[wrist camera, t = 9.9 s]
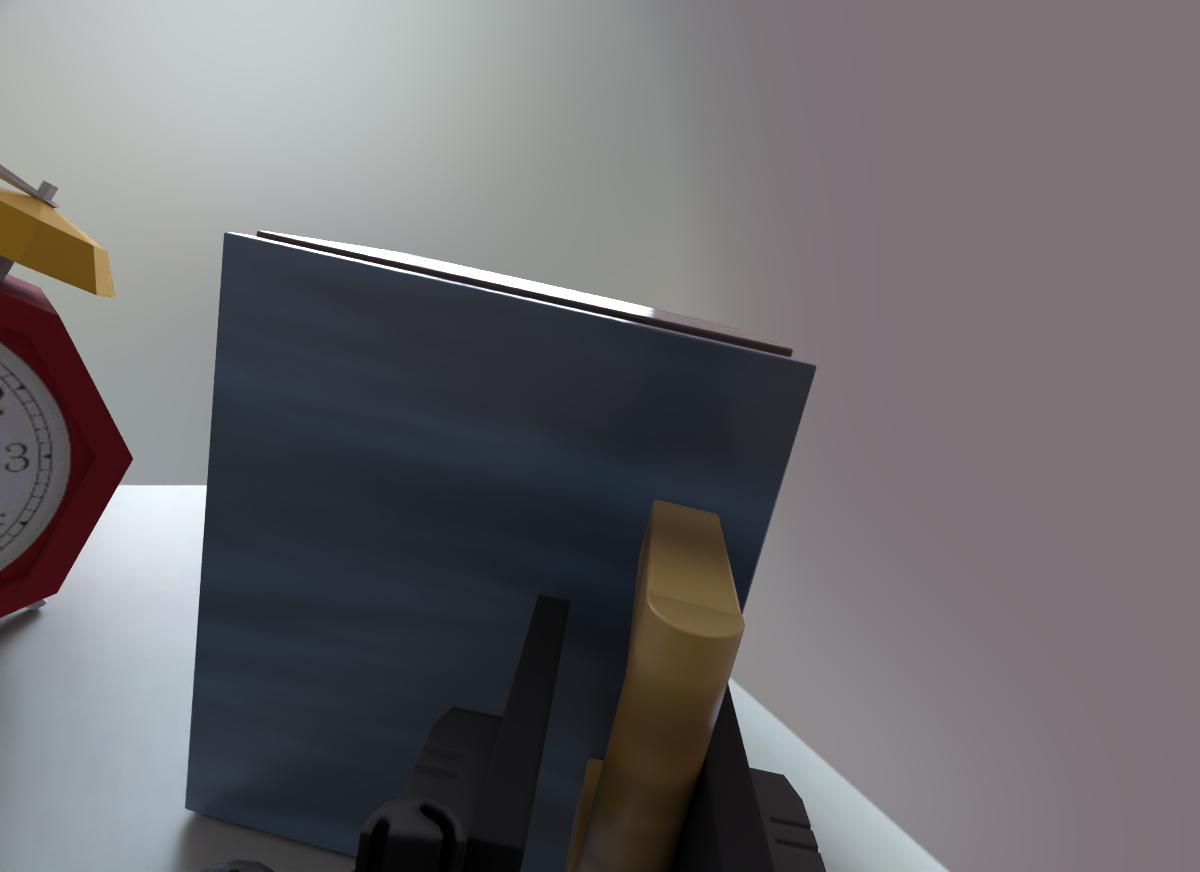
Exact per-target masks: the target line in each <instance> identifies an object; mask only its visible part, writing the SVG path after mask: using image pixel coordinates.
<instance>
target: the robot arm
mask: <svg viewBox="0 0 1200 872" xmlns="http://www.w3.org/2000/svg"><path fill="white" fill-rule="evenodd" d="M569 607H570V601H567V600H563V599H558V598H553V597H549V596H544V595H540V594H539V595H538V598H537V602H536V605H535V608H534V612H533V615H532V619H531V622H530V626H529V629H528V633H527V636H526V639H525V643H524V646H523V650H522V653H521V657H520V660H519V663H518V667H517V670H516V674H515V677H514V681H513V684H512V687H511V691H510V694H509V698H508V701H507V705H506V708H505V711H504V715H503V717H500V716H496V715H491V714H486V713H482V712H477V711H472V710H468V709H463V708H458V707H454V706H453V707H452V708H451V709H450V710H449V711H448V712H446V713H445V714H444V715H443V716H442V717H441V718H439V719H438V720H437V721H436V722H435V723H434V724H433V726H432V729H431V731H430V733H429V735H428V738H427V740H426V742H425V744H424V748H423V750H422V751H421V753H420V756H419V758H418V760H417V762H416V765H415V769H413V771H412V774H411V776H410V778H409V780H408V783H407V785H406V787H405V789H404V792H403V794H402V796H401V797H399V798H397V799H394V800H392V801H389V802H386V803H385V804H383V805H382V806H381V807H380V808H378V809H377V810H376V811H375V812H374V813H372V814H371V815H370V816H369V818H368V820H367V822H366V823H365V825H364V827H363V829H362V830H361V832H360V839H359V846H358V852H357V859H356V866H355V870H353V871H352V872H520V870H521V865H522V861H523V856H524V852H525V847H526V841H527V836H528V831H529V825H530V820H531V814H532V809H533V803H534V798H535V792H536V787H537V781H538V776H539V770H540V765H541V760H542V754H543V749H544V743H545V738H546V732H547V727H548V721H549V716H550V710H551V705H552V699H553V694H554V689H555V683H556V678H557V672H558V667H559V661H560V656H561V650H562V645H563V639H564V634H565V629H566V623H567V618H568V612H569ZM810 827H811V825H810V822H809V819H808V816H807V813H806V810H805V807H804V804H803V801H802V799H801V798H800V796H799V795H798V794H797V792H796V791H795V790H794V788H793V787H792V786H791V784H790V783H789V782H788V780H787V779H786V778H785V776H784V775H781V774H776V773H772V772H767V771H762V770H758V769H753V768H749V765H748V761H747V757H746V753H745V749H744V745H743V741H742V737H741V733H740V729H739V725H738V721H737V717H736V713H735V709H734V705H733V701H732V697H731V693H730V689H729V685H728V684H727V687H726V690H725V694H724V697H723V700H722V704H721V707H720V710H719V714H718V717H717V720H716V723H715V727H714V730H713V733H712V737H711V740H710V743H709V746H708V750H707V753H706V756H705V760H704V763H703V766H702V769H701V773H700V776H699V779H698V783H697V786H696V789H695V793H694V796H693V799H692V802H691V806H690V809H689V812H688V816H687V819H686V822H685V825H684V829H683V832H682V835H681V839H680V842H679V845H678V849H677V852H676V855H675V858H674V862H673V865H672V868H671V872H826V869H825V866H824V863H823V860H822V857H821V854H820V853H818V845H817V842H816V840H815V837H814V834H813V831H811V829H810ZM201 872H274V871H273V870H271V869H269V868H268V867H266V866H264V865H263V864H261V863H259V862H253V861H244V860H235V861H230V862H225V863H220V864H215V865H213V866H211V867H209V868H207V869H205V870H203V871H201Z"/></svg>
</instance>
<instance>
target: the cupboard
mask: <svg viewBox="0 0 1200 872" xmlns="http://www.w3.org/2000/svg"><path fill="white" fill-rule="evenodd" d="M257 237H260V238H265V239H269V240H273V241H278V242H282V243H287V244H291V245H296V246H300V247H304V248H309V249H313V250H318V251H322V252H327V253H331V254H335V255H340V256H344V257H349V258H353V259H357V260H362V261H366V262H371V263H375V264H380V265H384V266H388V267H393V268H397V269H402V270H406V271H411V272H415V273H419V274H424V275H428V276H433V277H437V278H442V279H446V280H450V281H455V282H459V283H464V284H468V285H473V286H477V287H481V288H486V289H490V290H495V291H499V292H504V293H508V294H512V295H517V296H521V297H526V298H530V299H535V300H539V301H543V302H548V303H552V304H557V305H561V306H566V307H570V308H574V309H579V310H583V311H588V312H592V313H596V314H601V315H605V316H610V317H614V318H619V319H623V320H627V321H632V322H636V323H641V324H645V325H650V326H654V327H658V328H663V329H667V330H672V331H676V332H681V333H685V334H689V335H694V336H698V337H703V338H707V339H712V340H716V341H720V342H725V343H729V344H734V345H738V346H743V347H747V348H751V349H756V350H760V351H765V352H769V353H774V354H778V355H782V356H787V357H791V356H792V352H793V351H792V349H791V348H788V347H785V346H782V345H780V344H777V343H774V342H771V341H769V340H766V339H763V338H760V337H757V336H755V335H752V334H749V333H746V332H743V331H741V330H738V329H735V328H732V327H729V326H727V325H724V324H720V323H716V322H711V321H707V320H702V319H698V318H693V317H689V316H684V315H680V314H675V313H671V312H666V311H662V310H657V309H653V308H648V307H644V306H639V305H635V304H630V303H626V302H622V301H617V300H613V299H607V298H603V297H599V296H595V295H590V294H586V293H581V292H577V291H572V290H568V289H563V288H558V287H554V286H550V285H545V284H540V283H536V282H532V281H527V280H523V279H518V278H513V277H509V276H504V275H500V274H496V273H491V272H487V271H482V270H477V269H473V268H469V267H464V266H460V265H455V264H451V263H446V262H442V261H437V260H433V259H428V258H424V257H419V256H414V255H410V254H406V253H400V252H394V251H387V250H381V249H375V248H368V247H361V246H355V245H349V244H342V243H335V242H330V241H323V240H317V239H311V238H304V237H298V236H291V235H285V234H279V233H272V232H266V231H258V232H257Z"/></svg>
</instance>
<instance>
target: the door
mask: <svg viewBox="0 0 1200 872" xmlns="http://www.w3.org/2000/svg"><path fill="white" fill-rule="evenodd" d="M815 371H816V365H814V364H812V363H810V362H807V361H804V360H800V359H796V358H791V357H787V356H782V355H778V354H774V353H769V352H765V351H760V350H756V349H751V348H747V347H743V346H738V345H734V344H729V343H725V342H720V341H716V340H712V339H707V338H703V337H698V336H694V335H689V334H685V333H681V332H676V331H672V330H667V329H663V328H658V327H654V326H650V325H645V324H641V323H636V322H632V321H627V320H623V319H619V318H614V317H610V316H605V315H601V314H596V313H592V312H588V311H583V310H579V309H574V308H570V307H566V306H561V305H557V304H552V303H548V302H543V301H539V300H535V299H530V298H526V297H521V296H517V295H512V294H508V293H504V292H499V291H495V290H490V289H486V288H481V287H477V286H473V285H468V284H464V283H459V282H455V281H450V280H446V279H442V278H437V277H433V276H428V275H424V274H419V273H415V272H411V271H406V270H402V269H397V268H393V267H388V266H384V265H380V264H375V263H371V262H366V261H362V260H357V259H353V258H349V257H344V256H340V255H335V254H331V253H327V252H322V251H318V250H313V249H309V248H304V247H300V246H296V245H291V244H287V243H282V242H278V241H273V240H269V239H265V238H260V237H256V236H251V235H244V234H237V233H231V232H225V233H224V244H223V258H222V273H221V288H220V302H219V317H218V332H217V346H216V361H215V376H214V391H213V405H212V420H211V435H210V449H209V450H210V451H209V465H208V479H207V494H206V508H205V523H204V538H203V553H202V567H201V582H200V597H199V611H198V626H197V641H196V656H195V670H194V685H193V700H192V714H191V729H190V744H189V759H188V773H187V788H186V803H185V808H186V809H188V810H191V811H195V812H198V813H202V814H205V815H209V816H213V817H216V818H220V819H223V820H227V821H230V822H234V823H237V824H241V825H244V826H248V827H252V828H255V829H259V830H262V831H266V832H269V833H273V834H276V835H280V836H283V837H287V838H290V839H294V840H298V841H301V842H305V843H308V844H312V845H315V846H319V847H322V848H326V849H329V850H333V851H337V852H340V853H344V854H347V855H351V856H354V857H357V852H358V846H359V839H360V832H361V830H362V829H363V827H364V825H365V823H366V822H367V820H368V818H369V816H370V815H371V814H372V813H374V812H375V811H376V810H377V809H378V808H380V807H381V806H382V805H383V804H385V803H386V802H389V801H392V800H394V799H397V798H399V797H401V796H402V794H403V792H404V789H405V787H406V785H407V783H408V780H409V778H410V776H411V774H412V771H413V769H415V765H416V762H417V760H418V758H419V756H420V753H421V751H422V750H423V748H424V744H425V742H426V740H427V738H428V735H429V733H430V731H431V729H432V726H433V724H434V723H435V722H436V721H437V720H438V719H439V718H441V717H442V716H443V715H444V714H445V713H446V712H448V711H449V710H450V709H451V708H452V707H453V706H454V707H458V708H463V709H468V710H472V711H477V712H482V713H486V714H491V715H496V716H500V717H503V715H504V711H505V708H506V705H507V701H508V698H509V694H510V691H511V687H512V684H513V681H514V677H515V674H516V670H517V667H518V663H519V660H520V657H521V653H522V650H523V646H524V643H525V639H526V636H527V633H528V629H529V626H530V622H531V619H532V615H533V612H534V608H535V605H536V602H537V598H538V595H539V594H540V595H544V596H549V597H553V598H558V599H563V600H567V601H570V607H569V612H568V618H567V623H566V629H565V634H564V639H563V645H562V650H561V656H560V661H559V667H558V672H557V678H556V683H555V689H554V694H553V699H552V705H551V710H550V716H549V721H548V727H547V732H546V738H545V743H544V749H543V754H542V760H541V765H540V770H539V776H538V781H537V787H536V792H535V798H534V803H533V809H532V814H531V820H530V825H529V831H528V836H527V841H526V847H525V852H524V856H523V861H522V865H521V870H520V872H671V868H672V865H673V862H674V858H675V855H676V852H677V849H678V845H679V842H680V839H681V835H682V832H683V829H684V825H685V822H686V819H687V816H688V812H689V809H690V806H691V802H692V799H693V796H694V793H695V789H696V786H697V783H698V779H699V776H700V773H701V769H702V766H703V763H704V760H705V756H706V753H707V750H708V746H709V743H710V740H711V737H712V733H713V730H714V727H715V723H716V720H717V717H718V714H719V710H720V707H721V704H722V700H723V697H724V694H725V690H726V687H727V684H728V681H729V677H730V674H731V671H732V667H733V664H734V661H735V657H736V654H737V651H738V648H739V644H740V641H741V638H742V635H743V631H744V627H745V625H744V619H743V617H742V614H743V611H744V607H745V604H746V601H747V597H748V594H749V591H750V587H751V584H752V581H753V577H754V574H755V571H756V567H757V564H758V561H759V557H760V554H761V551H762V548H763V544H764V541H765V538H766V534H767V531H768V527H769V524H770V521H771V517H772V514H773V511H774V508H775V504H776V501H777V498H778V494H779V491H780V488H781V484H782V481H783V478H784V474H785V471H786V468H787V464H788V461H789V458H790V454H791V451H792V448H793V445H794V441H795V438H796V434H797V431H798V428H799V424H800V421H801V418H802V414H803V411H804V408H805V405H806V401H807V398H808V395H809V391H810V388H811V384H812V381H813V378H814V375H815Z"/></svg>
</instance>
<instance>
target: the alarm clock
mask: <svg viewBox="0 0 1200 872" xmlns="http://www.w3.org/2000/svg"><path fill="white" fill-rule="evenodd" d="M0 178H1V179H2V180H4V181H6V182H8V183H9V184H11V185H13V186H15V187H16V188H18V189H20V190H22V191H24V192H25V193H27V194H29V195H31V196H28V195H25V194H21V193H18V192H14V191H11V190H7V189H4V188H0V618H1V617H3V616H5V615H8V614H10V613H12V612H15V611H17V610H19V609H21V608H24V607H27V608H29V609H31V610H33V611H35V610H37V609H38V608H40V607H42V606H43V605H45V604H46V603H47V602H46V598H47V597H49V596H51V595H54V594H56V593H57V592H58V590H59V589H60V587H61V585H62V583H63V582H64V580H65V578H66V576H67V575H68V573H69V571H70V569H71V568H72V566H73V564H74V562H75V561H76V559H77V557H78V555H79V553H80V552H81V550H82V548H83V546H84V545H85V543H86V541H87V539H88V538H89V536H90V534H91V532H92V531H93V529H94V527H95V525H96V524H97V522H98V520H99V518H100V516H101V515H102V513H103V511H104V509H105V508H106V506H107V504H108V502H109V501H110V499H111V497H112V495H113V494H114V492H115V490H116V488H117V487H118V485H119V483H120V481H121V480H122V478H123V476H124V474H125V472H126V470H127V469H128V467H129V465H130V464H131V462H132V460H133V458H132V456H131V454H130V452H129V450H128V448H127V446H126V444H125V442H124V440H123V438H122V436H121V435H120V433H119V431H118V429H117V427H116V425H115V423H114V421H113V419H112V417H111V415H110V413H109V411H108V409H107V407H106V405H105V404H104V402H103V400H102V398H101V396H100V394H99V392H98V390H97V388H96V386H95V384H94V382H93V380H92V378H91V377H90V375H89V373H88V371H87V369H86V367H85V365H84V363H83V361H82V359H81V357H80V355H79V353H78V352H77V349H76V348H75V346H74V344H73V342H72V340H71V338H70V336H69V334H68V332H67V330H66V328H65V326H64V324H63V322H62V320H61V319H60V317H59V315H58V313H57V312H56V310H55V309H54V308H53V306H52V305H51V303H50V302H49V300H48V299H47V297H46V296H45V294H44V293H43V291H42V290H41V288H39V287H37V286H35V285H32V284H30V283H27V282H25V281H22V280H20V279H18V278H15V277H13V276H11V275H8V272H9V270H10V269H11V267H12V265H13V264H14V262H16V263H18V264H21V265H23V266H26V267H28V268H31V269H33V270H36V271H38V272H41V273H43V274H46V275H48V276H50V277H53V278H55V279H58V280H60V281H63V282H65V283H68V284H71V285H73V286H75V287H78V288H80V289H83V290H85V291H88V292H90V293H93V294H95V295H99V296H107V297H114V298H115V294H114V289H113V283H112V277H111V271H110V266H109V260H108V254H107V250H105V249H104V248H103V247H101V246H100V245H99V244H98V243H97V242H95V241H94V240H93V239H91V238H90V237H89V236H88V235H86V234H85V233H84V232H83V231H81V230H80V229H79V228H78V227H76V226H75V225H74V224H72V223H71V222H70V221H69V220H67V219H66V218H65V217H64V216H62V215H61V214H60V213H59V212H57V211H56V210H55V209H54V208H58V207H60V206H58V205H57V204H55V203H54V202H52V201H51V200H52V198H53V196H54V195H55V193H56V191H57V190H58V188H57V187H55V186H53V185H51V184H49V183H47V182H45V181H43V182H42V184H41V186H40V187H39V189H38V191H37V190H35V189H34V188H33V187H31V186H30V185H28V184H27V183H26V182H24V181H23V180H21V179H20V178H19V177H17V176H16V175H14V174H13V173H12V172H10V171H9V170H7V169H5V168H4V167H3V166H2V165H0Z"/></svg>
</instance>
